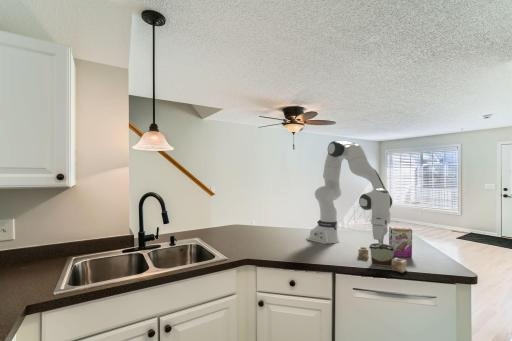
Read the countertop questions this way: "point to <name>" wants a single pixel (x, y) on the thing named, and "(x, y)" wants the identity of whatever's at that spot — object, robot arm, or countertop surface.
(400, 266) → the labelled block
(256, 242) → the countertop surface
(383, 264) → the food container
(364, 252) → the labelled block
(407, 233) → the candy bar box
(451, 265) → the countertop surface
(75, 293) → the countertop surface
